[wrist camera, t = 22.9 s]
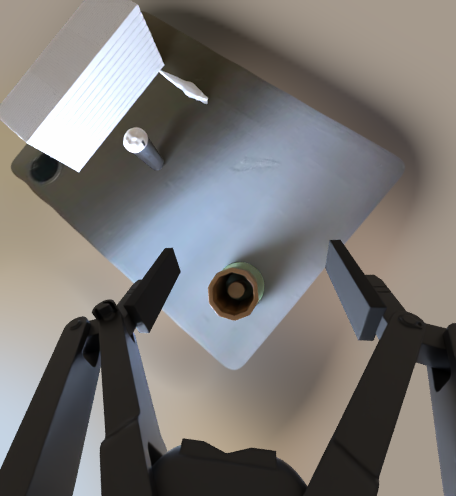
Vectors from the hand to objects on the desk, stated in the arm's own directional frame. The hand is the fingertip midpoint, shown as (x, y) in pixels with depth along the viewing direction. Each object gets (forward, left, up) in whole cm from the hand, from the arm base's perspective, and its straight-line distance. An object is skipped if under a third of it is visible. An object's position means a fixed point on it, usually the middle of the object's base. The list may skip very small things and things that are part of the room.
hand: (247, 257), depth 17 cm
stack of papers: (+48, -14, -22) cm, 55 cm away
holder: (0, +5, -22) cm, 22 cm away
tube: (0, +5, -21) cm, 21 cm away
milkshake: (+29, -8, -22) cm, 37 cm away
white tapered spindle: (+34, -26, -22) cm, 48 cm away
